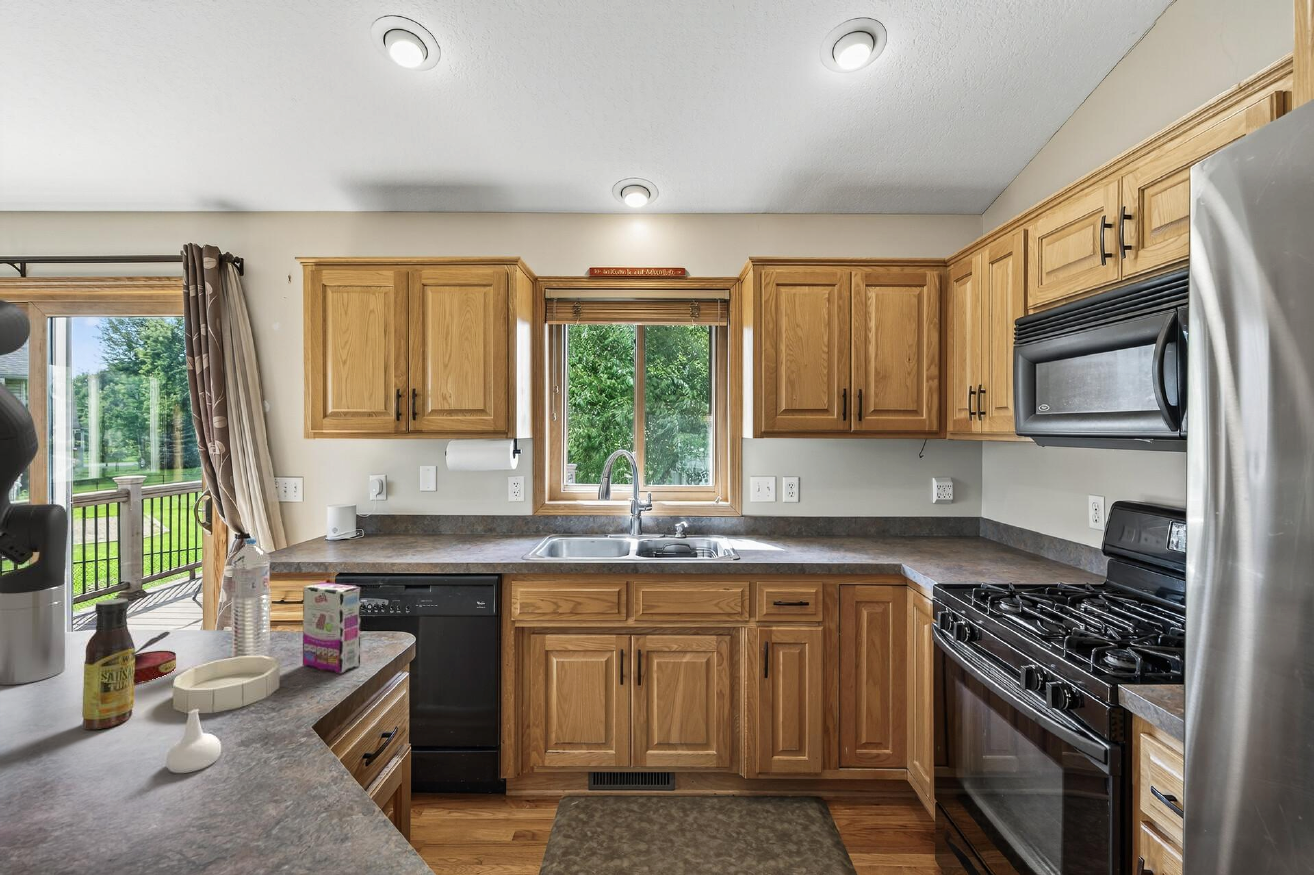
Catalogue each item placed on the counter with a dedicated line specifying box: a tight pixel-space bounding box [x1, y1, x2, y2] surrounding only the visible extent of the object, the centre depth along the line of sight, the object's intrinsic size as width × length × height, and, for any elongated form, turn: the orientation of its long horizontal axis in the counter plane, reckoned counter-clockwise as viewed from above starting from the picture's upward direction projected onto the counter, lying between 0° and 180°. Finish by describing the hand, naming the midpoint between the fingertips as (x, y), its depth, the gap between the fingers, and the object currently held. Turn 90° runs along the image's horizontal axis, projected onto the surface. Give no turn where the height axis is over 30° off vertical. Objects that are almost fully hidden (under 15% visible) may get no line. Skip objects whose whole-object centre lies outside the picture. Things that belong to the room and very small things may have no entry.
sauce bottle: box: [81, 598, 136, 730], centre depth 99 cm, size 7×6×20 cm
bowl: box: [172, 655, 280, 715], centre depth 110 cm, size 16×16×4 cm
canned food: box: [134, 631, 177, 684], centre depth 119 cm, size 11×10×10 cm
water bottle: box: [230, 538, 271, 658], centre depth 128 cm, size 7×7×25 cm
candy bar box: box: [302, 581, 362, 674], centre depth 124 cm, size 11×5×16 cm, turn 68°
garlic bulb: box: [165, 709, 222, 774], centre depth 88 cm, size 6×6×8 cm
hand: (11, 558), depth 91 cm, fingers open, 8 cm apart
